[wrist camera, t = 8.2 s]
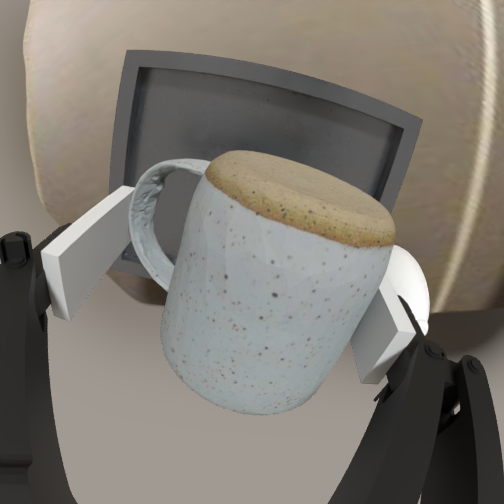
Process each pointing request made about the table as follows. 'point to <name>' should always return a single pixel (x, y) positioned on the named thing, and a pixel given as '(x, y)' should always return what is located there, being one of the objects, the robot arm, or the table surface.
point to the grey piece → (246, 130)
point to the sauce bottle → (409, 284)
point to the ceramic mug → (262, 276)
